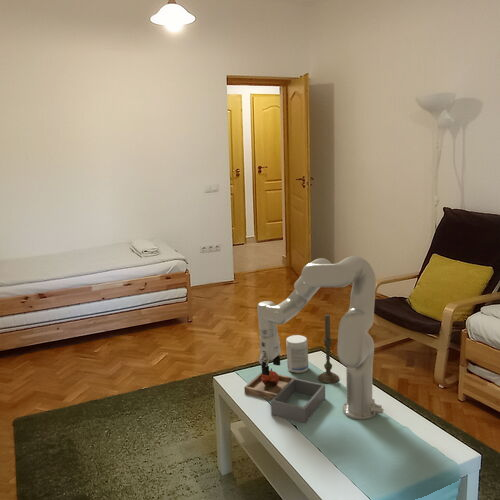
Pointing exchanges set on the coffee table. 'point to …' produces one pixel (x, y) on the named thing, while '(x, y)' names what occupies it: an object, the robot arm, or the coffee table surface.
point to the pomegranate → (270, 379)
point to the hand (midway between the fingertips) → (271, 369)
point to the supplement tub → (297, 353)
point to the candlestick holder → (328, 356)
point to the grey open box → (293, 411)
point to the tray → (266, 387)
